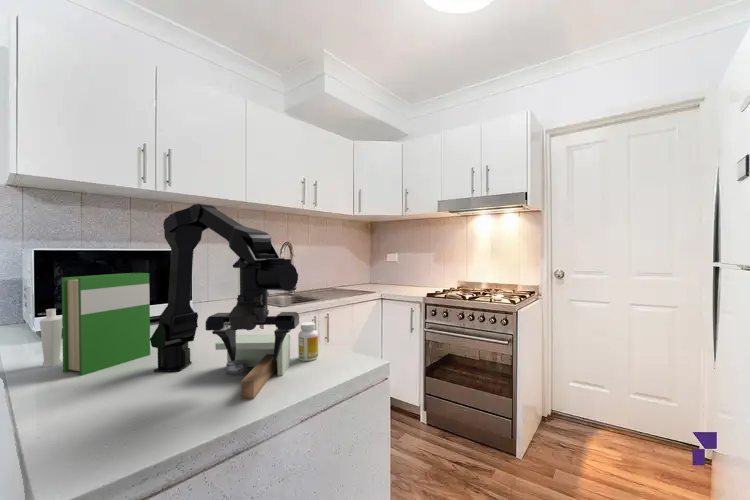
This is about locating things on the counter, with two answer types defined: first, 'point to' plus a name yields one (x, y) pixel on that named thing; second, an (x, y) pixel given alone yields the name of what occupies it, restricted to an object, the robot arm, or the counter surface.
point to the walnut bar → (258, 377)
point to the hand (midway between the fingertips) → (254, 360)
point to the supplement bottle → (308, 342)
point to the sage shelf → (259, 350)
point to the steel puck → (237, 367)
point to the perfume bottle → (51, 338)
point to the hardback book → (104, 320)
